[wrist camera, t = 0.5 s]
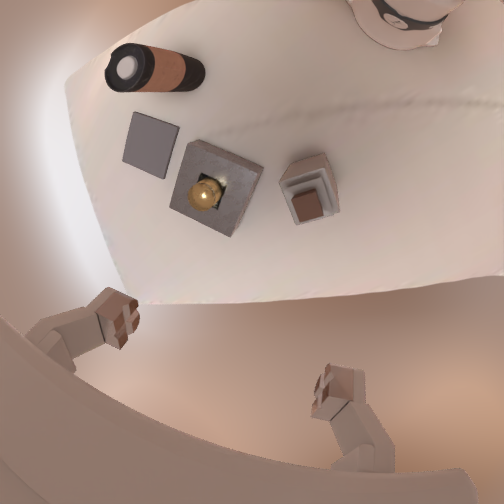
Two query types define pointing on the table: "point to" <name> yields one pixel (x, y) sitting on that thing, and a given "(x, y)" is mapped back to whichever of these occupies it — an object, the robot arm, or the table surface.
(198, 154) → the housing
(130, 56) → the travel mug
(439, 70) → the table surface
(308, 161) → the grey square bottle
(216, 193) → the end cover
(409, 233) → the table surface
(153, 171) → the mat
